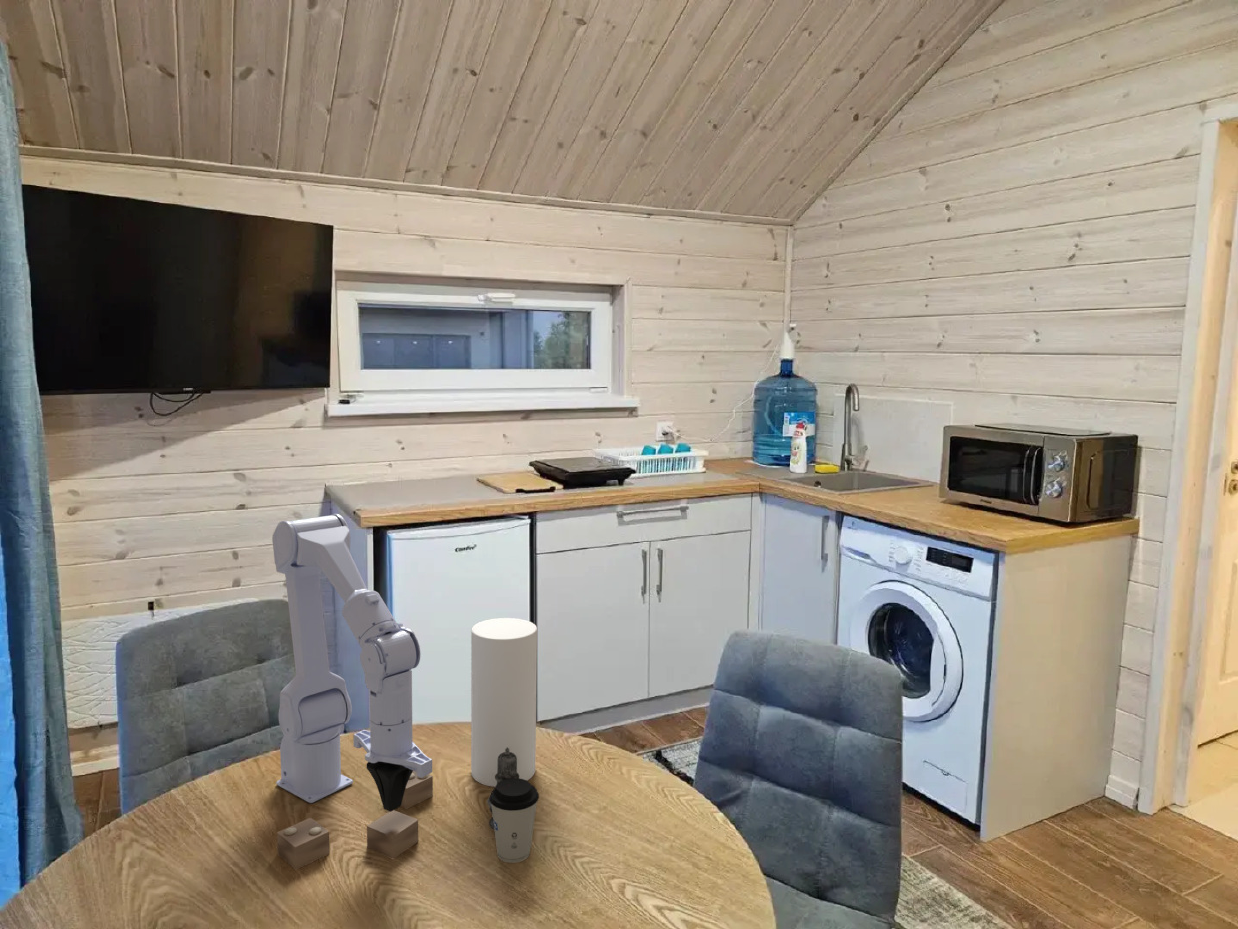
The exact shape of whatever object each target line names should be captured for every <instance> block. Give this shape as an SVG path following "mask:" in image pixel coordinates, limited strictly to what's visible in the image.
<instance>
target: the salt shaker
mask: <svg viewBox="0 0 1238 929" xmlns="http://www.w3.org/2000/svg"><path fill="white" fill-rule="evenodd" d="M505 751H506V752H503V753H501V754H500V755H499V756H498V766H497V774H496V775H495V779H496V781H497V783H498V782H500V781H501V780H505V779H513V778H519V774H518V773H517V757H516V755H515V754H514V753H512V752H509V748H508V747H507V748H506V749H505ZM486 803H487V804H486V805H487V807H488V808H489V811H490V814H491V816H492V817H491V818H489V820H488V826H489V828H490V829H491V830H493V831H495V830H494V822H493V814H492V806H491V802H490V801H489V797H488V798H487V800H486Z"/></svg>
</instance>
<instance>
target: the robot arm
mask: <svg viewBox="0 0 1238 929" xmlns="http://www.w3.org/2000/svg"><path fill="white" fill-rule="evenodd" d="M271 540H272V548H273V558H274V565H275V570H276V572H277V573H280V574H284V575H285V578H284V579H285V585H286V587H285V588H286V594H287V596H286V597H287V603H288V604H287V605H288V614H289V622H290V631H291V640H292V649H293V656H294V657H293V658H294V667H295V676H294V677H293V678H292V679H291V680H290V682H289V683H287V685H285V686H284V687H283V688H282V690H280V692H279V709H278V723H279V727H280V730H281V732H282V733H283V736H282V738H281V741H280V745H279V746H280V747H279V748H280V749H279V753H280V755H279V756H280V779H278V780H277V781H276V785H277V786H278V787H280V788H282V789H284V790H285V791H287V792H289V793H290V794H293V795H295V796H296V797H299V798H300V799H302V800H304V801H305V802H307V803H309V804H313V803H315V802H317V801H319V800H321V799H323V798H325V797H327V796H329V795H332V794H334V793H335V792H337V791H340V790H342V789H344V788H346V787H348V786H350V785H351V784H353V782H354V781H353V779H352V778H349V777H348V776H346V775H344V774H342V765H341V764H342V762H341V758H342V757H341V733H342V732H344V731H345V724H348V723H349V721H350V719H351V715H352V712H353V711H352V710H353V707H352V701H351V698H350V695H349V692H348V689H347V685H346V681H345V679H344V678H343V677H342V676H340V675H338V674H336V673H333V672H331V671H330V664H329V663H330V662H329V655H328V654H329V653H328V644H327V636H326V626H325V618H324V607H323V600H322V599H323V598H322V590H321V581H320V580H321V579H320V575H321V573H322V572H323V574H324V575H325V577H326V578H327V579H328V581H329V582H330V584H331V585H332V587H333V588H334V589H335V591H336V592H337V594H338V595H339V596H340V597H341V599H342V600H343V602H344V604H343V606H342V611H341V613H342V616H343V618H344V620H345V621H346V623H347V625H348V627H349V628H350V630H351V632H352V634H353V636H354V637H355V639H356V641H357V643H358V644H359V646H360V648H361V651H360V653H359V660H360V664H361V665H360V666H361V667H362V670H363V672H364V673H363V674H364V684H365V686H366V688H367V689H368V690H369V730H367V729H363V730H361V731H358V732H355V733H354V734H352V736H353V747H354V748H356V749H362V748H363V750H365V752H366V754H364V760H365V761H366V762H367V763H366V770H367V771H368V772H369V773H370V776H371V777H372V779H373V781H374V784H375V785H376V787H377V788H376V789H377V791H378V794H379V797H380V801H381V804H382V806H383V809H384V810H385V811H388V812H391V811H393V810H395V811H396V810H397V809H398V808H401V807H402V806H401V804H402V799H403V795H404V792H405V788H406V785H407V782H408V780H409V778H410V776H411V774H412V772H413V771H415V772H417V776H418V777H421V778H422V777H424V776H426V775H428V774H429V775H431V774H432V773H433V759H432V758H431V757H428V755H426V754H425V753H424V752H423V751H422V750H421V749H420V747H418V746H417V745H416V743H415V742H414V740H413V676H412V675H413V674H412V673H413V672H412V670H413V669H416V668H418V666H419V665H420V661H421V646H420V643H419V640H418V638H417V636H416V634H415V632H414V631H413V630H412V629H410V628H409V627H405V625H404V624H403V623H400V622H399V623H398V622H397V621H396V619H395V618H394V615H392V613H391V612H390V610H389V607H388V606H387V605H386V603H385V601H384V600H383V598H382V596H381V595H380V593H379V592H378V591H376V590H372V589H368V588H367V586H366V584H365V581H364V579H363V577H362V575H361V573H360V570H359V568H358V567H357V564H356V562H355V560H354V559H353V556H352V554H351V552H350V548H351V530H350V529H349V525H348V523H347V521H346V520H345V518H344V517H343V516H342V515H341V514H339V513H332V514H330V515H324V516H315V517H310V518H301V519H296V520H294V519H293V520H281V521H279V523H277V526H276V527H275V529H274V531H273V533H272V539H271Z"/></svg>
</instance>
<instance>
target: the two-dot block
mask: <svg viewBox="0 0 1238 929" xmlns="http://www.w3.org/2000/svg"><path fill="white" fill-rule="evenodd" d="M276 834H277V835H276V842H277V845H276V846H277V855H278V856H279V857H280V858H281V859H282V860H284V861H285V862H286V863H287V864H289V865H290V866H291V867H292V868H293V869H294V870H299V869H300V868H302V867H304V866H307V865H309V864H310V863H313V862H315V861H317V860H319V859H321V858H323V857H326V856H328V855H329V854H330V831H329V830H328V829H327V828H325V827H323V826H322V825H321V824H320V823H318V822H317V821H315V820H314V819H313V818H312V817H308V818H307V819H305V820H302V821H300V822H298V823H295V824H293V825H291V826H289V827H286V828H283V829H281V830H280V831H277V832H276Z"/></svg>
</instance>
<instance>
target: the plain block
mask: <svg viewBox="0 0 1238 929" xmlns="http://www.w3.org/2000/svg"><path fill="white" fill-rule="evenodd" d="M418 842H419V819H417V818H415V817H412V816H410V815H407V814H404V813H402V812H400V811H398V810H396V809H395V810H393V811H391V812H389V811H388V812H386V813H385V814H383V815H382V816H380V817H378V818H377V819H376V820H374V821H372V822H371V823H369V824H367V825H366V847H367V849H369V850H370V851H373V852H376V853H379V854H381V855H382V856H385V857H387V858H390V859H391V860H394V859H395V858H397V857H398V856H400V855H401V854H402V853H404V852H405V851H407V850H408V849H410V848H411V847H413V846H414V845H416V844H417V843H418Z"/></svg>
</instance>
